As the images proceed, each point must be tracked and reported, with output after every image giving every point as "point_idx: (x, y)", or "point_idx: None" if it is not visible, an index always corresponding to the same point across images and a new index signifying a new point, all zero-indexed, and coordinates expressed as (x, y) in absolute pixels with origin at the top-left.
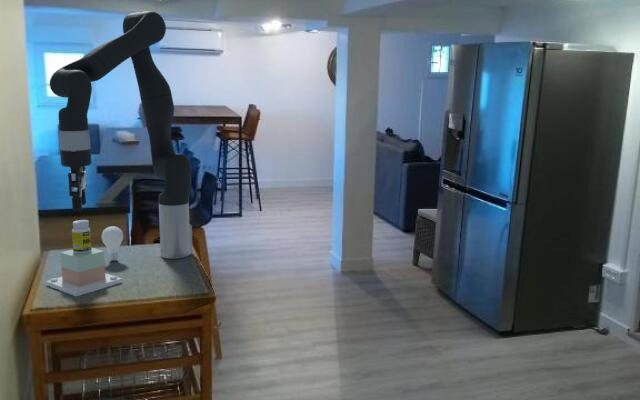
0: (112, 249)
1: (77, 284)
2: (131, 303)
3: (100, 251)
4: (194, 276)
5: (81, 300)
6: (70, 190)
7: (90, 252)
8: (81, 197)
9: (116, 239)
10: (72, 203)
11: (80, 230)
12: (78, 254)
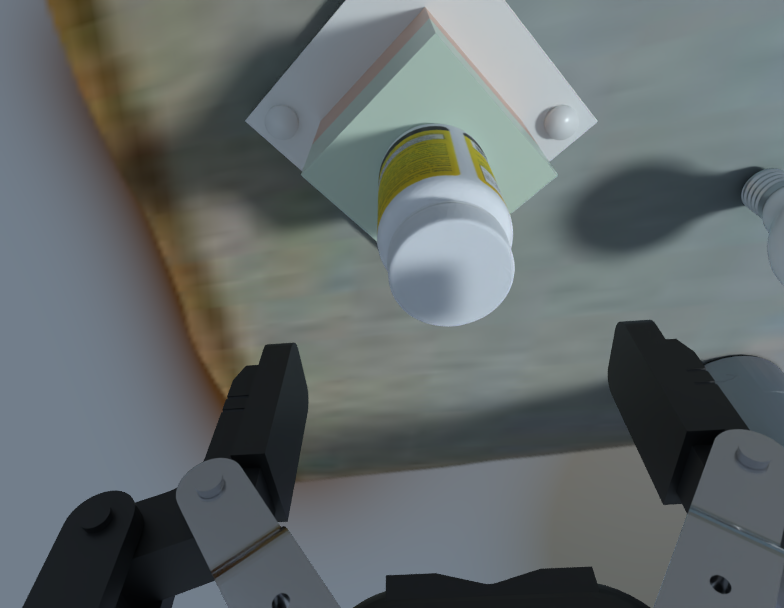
0: (768, 215)
1: (329, 112)
2: (189, 319)
3: None
4: (446, 452)
5: (204, 148)
6: (45, 589)
7: None
8: (642, 411)
9: (774, 270)
10: (249, 401)
11: (384, 253)
12: (368, 165)
